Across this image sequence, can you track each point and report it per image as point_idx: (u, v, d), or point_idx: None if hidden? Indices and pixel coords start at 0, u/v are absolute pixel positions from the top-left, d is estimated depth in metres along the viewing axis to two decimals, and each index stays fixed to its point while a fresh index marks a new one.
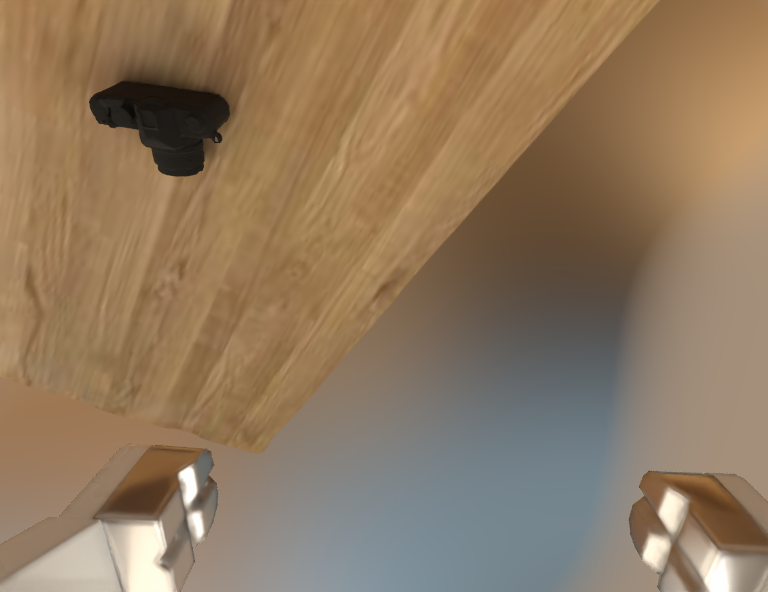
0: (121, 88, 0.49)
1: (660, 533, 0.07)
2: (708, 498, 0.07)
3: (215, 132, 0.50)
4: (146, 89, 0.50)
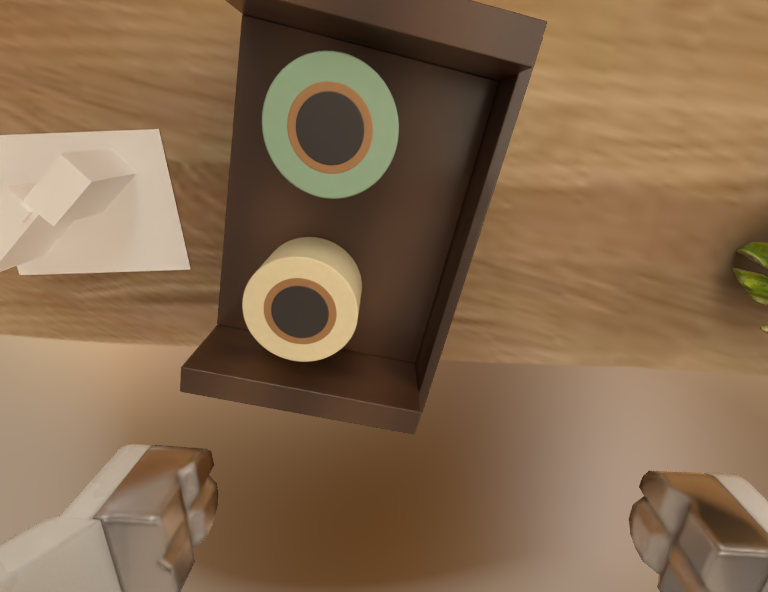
0: None
1: (659, 533, 0.07)
2: (708, 498, 0.07)
3: None
4: None
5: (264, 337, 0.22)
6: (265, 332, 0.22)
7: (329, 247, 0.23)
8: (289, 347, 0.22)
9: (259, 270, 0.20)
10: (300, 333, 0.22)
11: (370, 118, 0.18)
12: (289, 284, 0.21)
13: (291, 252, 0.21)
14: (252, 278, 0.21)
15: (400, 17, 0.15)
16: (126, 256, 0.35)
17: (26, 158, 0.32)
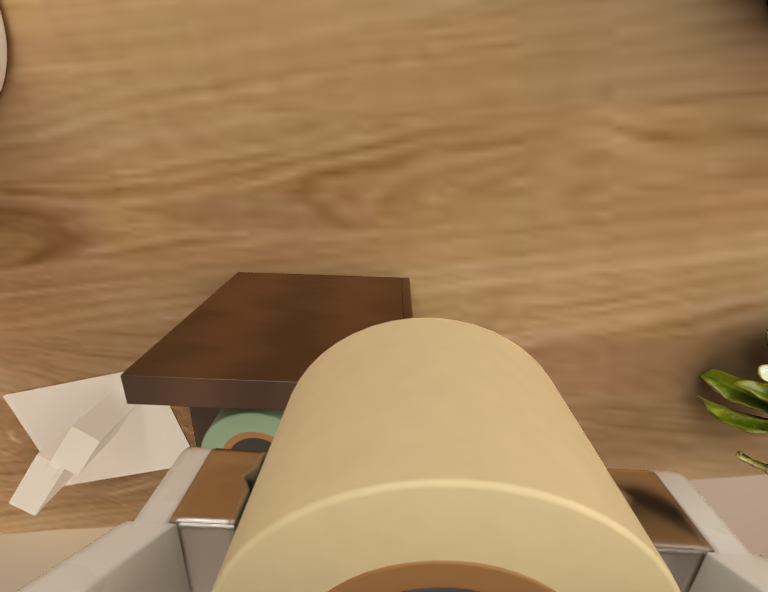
0: None
1: None
2: (645, 495, 0.07)
3: None
4: None
5: None
6: None
7: (480, 351, 0.07)
8: None
9: (245, 553, 0.05)
10: None
11: None
12: (385, 589, 0.05)
13: (368, 437, 0.05)
14: (224, 582, 0.05)
15: (286, 402, 0.19)
16: (144, 460, 0.40)
17: (51, 403, 0.38)
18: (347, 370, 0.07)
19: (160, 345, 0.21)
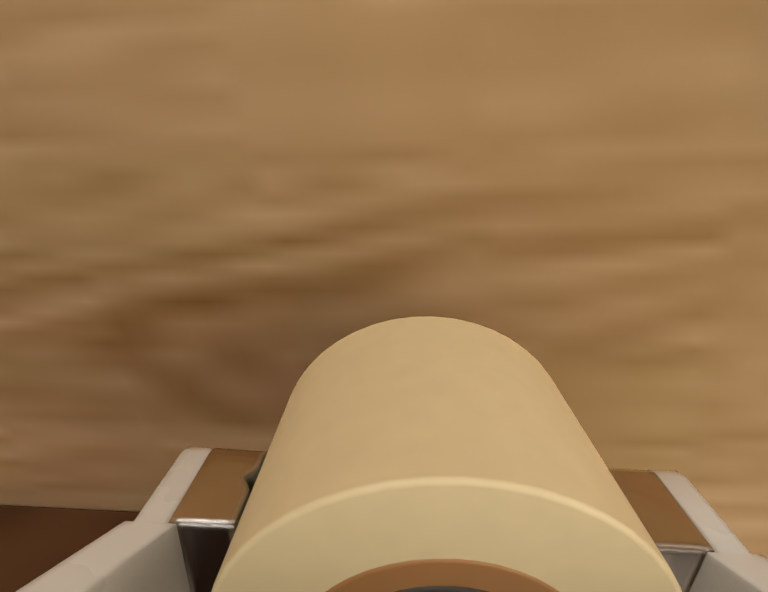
0: None
1: None
2: (645, 495, 0.07)
3: None
4: None
5: None
6: None
7: (480, 350, 0.07)
8: None
9: (245, 551, 0.05)
10: None
11: None
12: (385, 587, 0.05)
13: (368, 435, 0.05)
14: (224, 580, 0.05)
15: None
16: None
17: None
18: (347, 368, 0.07)
19: None
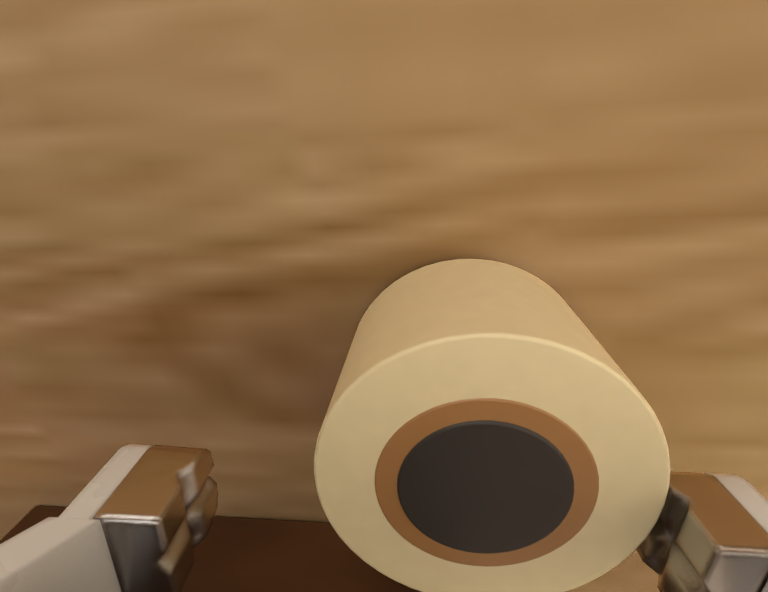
0: None
1: (660, 533, 0.07)
2: (708, 498, 0.07)
3: None
4: None
5: (387, 556, 0.08)
6: (389, 546, 0.08)
7: (513, 278, 0.09)
8: (458, 574, 0.08)
9: (348, 392, 0.07)
10: (488, 543, 0.07)
11: None
12: (445, 421, 0.07)
13: (432, 319, 0.07)
14: (332, 416, 0.07)
15: None
16: None
17: None
18: (409, 291, 0.09)
19: None
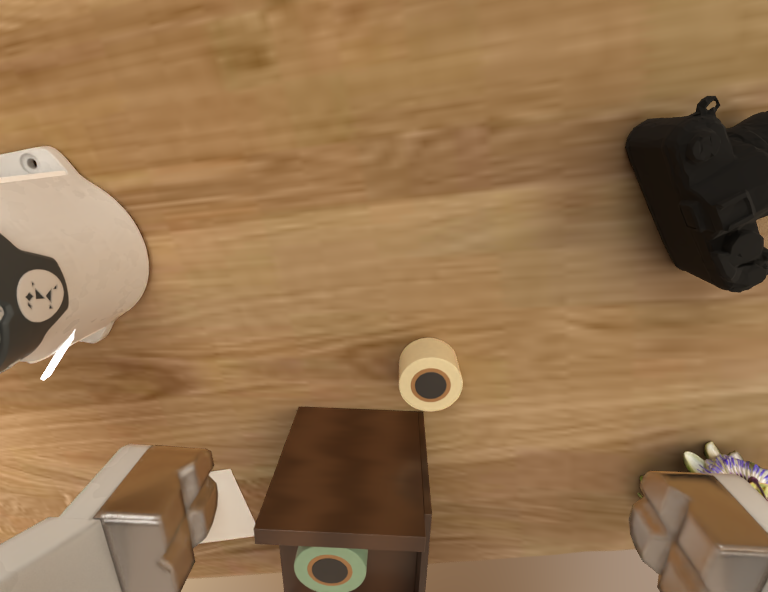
0: (689, 262, 0.34)
1: (660, 533, 0.07)
2: (708, 498, 0.07)
3: (698, 112, 0.28)
4: (672, 235, 0.34)
5: (412, 401, 0.39)
6: (413, 399, 0.39)
7: (437, 343, 0.40)
8: (426, 404, 0.39)
9: (406, 367, 0.38)
10: (432, 396, 0.39)
11: (349, 564, 0.33)
12: (423, 372, 0.38)
13: (421, 354, 0.38)
14: (403, 372, 0.38)
15: (352, 544, 0.31)
16: (219, 532, 0.52)
17: None
18: (415, 347, 0.40)
19: (268, 498, 0.34)
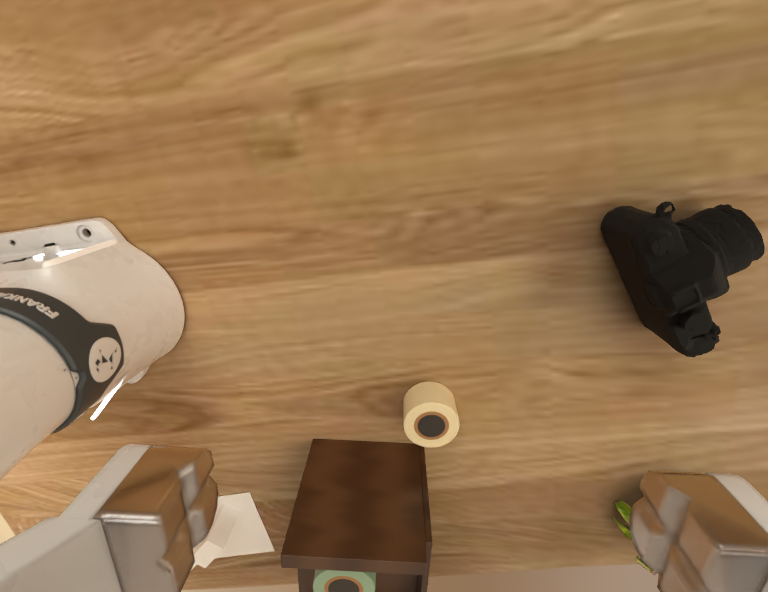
0: (654, 327, 0.40)
1: (659, 533, 0.07)
2: (708, 498, 0.07)
3: (658, 214, 0.33)
4: (640, 303, 0.40)
5: (415, 439, 0.45)
6: (415, 437, 0.45)
7: (437, 387, 0.46)
8: (427, 441, 0.45)
9: (410, 410, 0.44)
10: (432, 435, 0.45)
11: (360, 584, 0.39)
12: (425, 414, 0.44)
13: (423, 399, 0.44)
14: (407, 414, 0.44)
15: (365, 568, 0.37)
16: (236, 548, 0.58)
17: None
18: (418, 390, 0.46)
19: (292, 526, 0.39)
